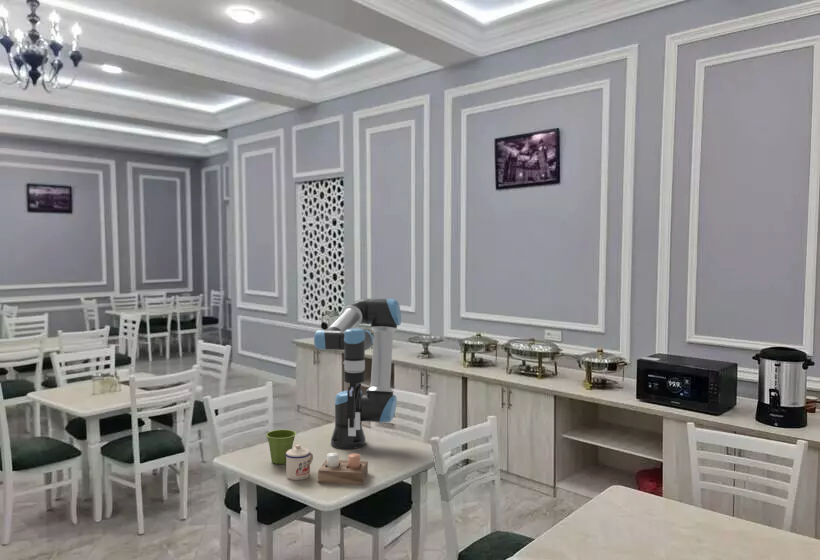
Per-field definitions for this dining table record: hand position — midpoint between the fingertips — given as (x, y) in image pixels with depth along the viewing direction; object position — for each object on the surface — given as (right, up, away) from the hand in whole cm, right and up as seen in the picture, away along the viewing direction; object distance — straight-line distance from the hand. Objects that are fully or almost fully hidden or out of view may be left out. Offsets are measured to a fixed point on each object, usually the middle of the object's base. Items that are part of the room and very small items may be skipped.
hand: (354, 432), depth 212 cm
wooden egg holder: (-4, -17, +1) cm, 18 cm away
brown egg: (0, -15, 0) cm, 15 cm away
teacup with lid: (-20, -17, +4) cm, 27 cm away
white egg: (-8, -14, +1) cm, 17 cm away
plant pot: (-31, -16, +18) cm, 39 cm away
